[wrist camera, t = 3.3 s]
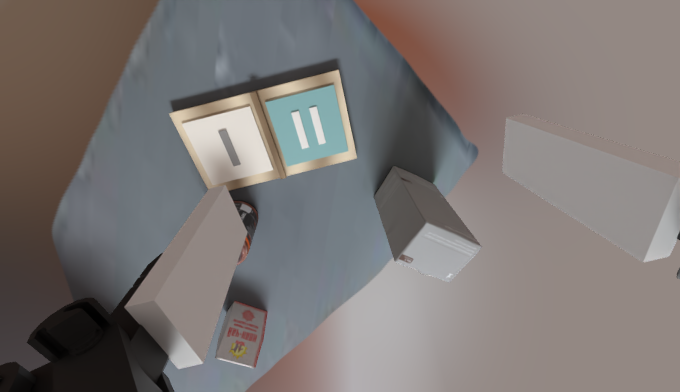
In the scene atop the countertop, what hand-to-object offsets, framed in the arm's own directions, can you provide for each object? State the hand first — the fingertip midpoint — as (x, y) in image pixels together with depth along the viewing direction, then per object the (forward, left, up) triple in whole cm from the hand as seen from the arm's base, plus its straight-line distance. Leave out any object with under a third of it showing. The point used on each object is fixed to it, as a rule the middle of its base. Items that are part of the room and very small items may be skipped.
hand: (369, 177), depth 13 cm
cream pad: (-15, -3, -26) cm, 30 cm away
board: (-9, -3, -27) cm, 29 cm away
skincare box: (+8, -17, -27) cm, 33 cm away
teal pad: (-4, -3, -26) cm, 26 cm away
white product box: (-25, -35, -27) cm, 51 cm away
